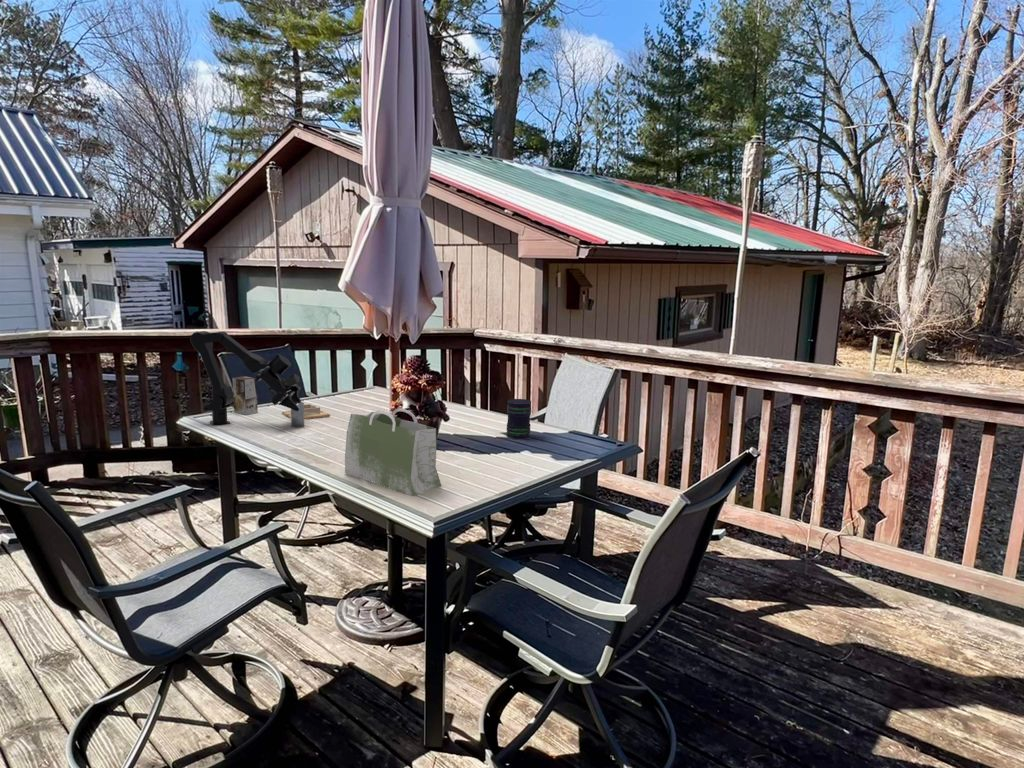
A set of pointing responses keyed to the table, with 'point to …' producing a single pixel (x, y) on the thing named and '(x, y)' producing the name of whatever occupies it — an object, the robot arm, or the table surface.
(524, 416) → the storage jar
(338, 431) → the table surface
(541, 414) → the table surface
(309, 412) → the socket block
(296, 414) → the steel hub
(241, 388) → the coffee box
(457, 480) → the table surface
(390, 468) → the grocery bag
